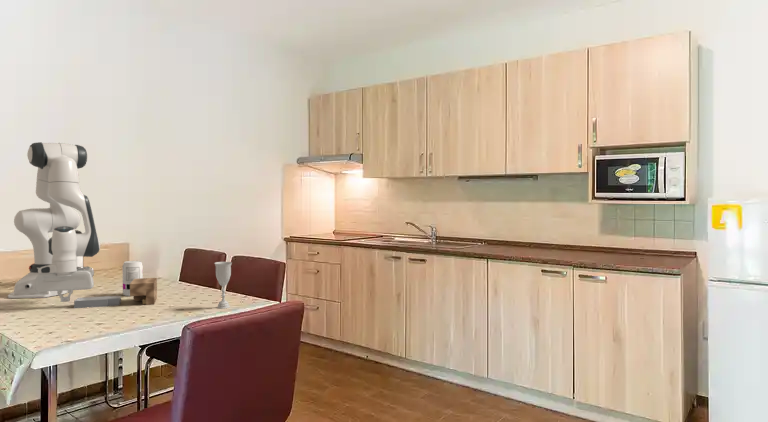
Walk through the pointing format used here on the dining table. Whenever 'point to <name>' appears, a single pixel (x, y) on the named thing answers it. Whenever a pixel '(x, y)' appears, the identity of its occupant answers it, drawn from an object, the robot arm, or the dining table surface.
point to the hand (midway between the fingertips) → (65, 301)
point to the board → (97, 301)
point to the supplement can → (131, 274)
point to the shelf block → (144, 290)
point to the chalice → (223, 280)
